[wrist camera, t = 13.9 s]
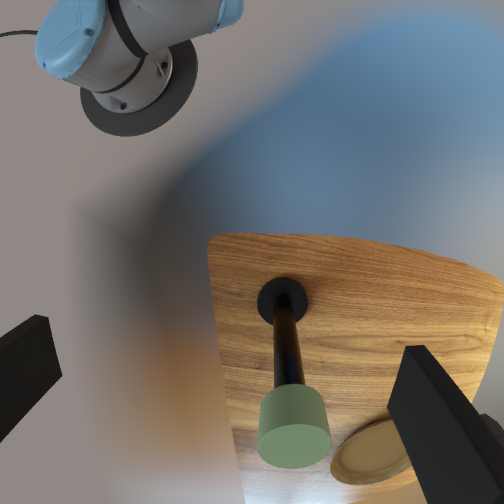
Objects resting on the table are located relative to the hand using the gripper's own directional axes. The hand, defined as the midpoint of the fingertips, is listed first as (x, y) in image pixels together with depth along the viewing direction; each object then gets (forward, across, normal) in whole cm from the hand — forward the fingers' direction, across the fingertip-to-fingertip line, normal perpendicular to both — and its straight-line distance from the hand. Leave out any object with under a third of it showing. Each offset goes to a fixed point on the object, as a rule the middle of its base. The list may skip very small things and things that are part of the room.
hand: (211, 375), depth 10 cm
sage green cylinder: (+13, +5, -12) cm, 18 cm away
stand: (+39, +5, -12) cm, 41 cm away
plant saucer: (+39, +30, -49) cm, 69 cm away
